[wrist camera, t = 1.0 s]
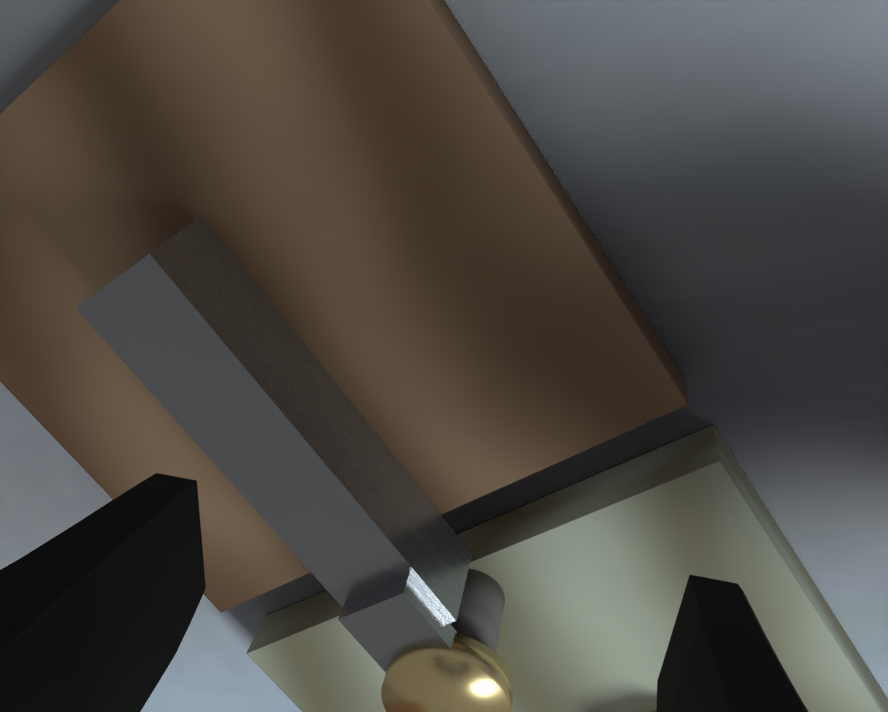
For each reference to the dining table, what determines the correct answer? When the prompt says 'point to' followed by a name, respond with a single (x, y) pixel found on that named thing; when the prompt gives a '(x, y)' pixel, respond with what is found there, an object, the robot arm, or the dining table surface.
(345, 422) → the swing bar
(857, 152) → the dining table surface
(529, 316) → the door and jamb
